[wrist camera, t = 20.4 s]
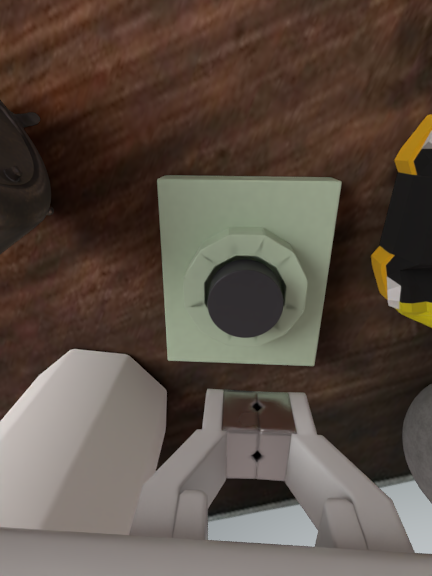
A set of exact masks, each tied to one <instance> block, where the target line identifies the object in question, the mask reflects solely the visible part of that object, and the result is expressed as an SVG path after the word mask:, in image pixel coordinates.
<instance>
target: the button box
mask: <svg viewBox="0 0 432 576" xmlns="http://www.w3.org/2000/svg"><path fill="white" fill-rule="evenodd" d="M341 185H342V182H341V181H339V180H337V179H334V178H331V177H269V176H188V175H165V176H163V177H161V178H159V179H157V187H158V204H159V220H160V237H161V254H162V270H163V287H164V303H165V320H166V337H167V353H168V360H169V361H194V362H220V363H246V364H272V365H299V366H314V365H315V358H316V351H317V345H318V338H319V331H320V325H321V318H322V311H323V305H324V298H325V291H326V285H327V278H328V271H329V265H330V258H331V251H332V245H333V238H334V231H335V225H336V218H337V211H338V205H339V198H340V191H341ZM240 259H250V260H255V261H258V262H261V263H263V264H264V265H266V266H267V267H269V268H270V269H271V270H272V271H273V273H274V274H275V275H276V277H277V279H278V282H279V285H280V288H281V292H282V295H283V301H284V306H283V311H282V315H281V317H280V319H279V320H278V322H277V323H276V324H275V325H274V327H272V328H271V329H270V330H269V331H267V332H266V333H264V334H262V335H259V336H255V337H250V338H241V337H235V336H232V335H229V334H227V333H225V332H223V331H222V330H221V329H219V328H218V327H217V326H216V325H215V324H214V322H213V321H212V319H211V317H210V315H209V312H208V306H207V302H208V295H209V289H210V284H211V281H212V279H213V277H214V275H215V274H216V272H217V271H218V270H219V269H220V268H221V267H223V266H224V265H226V264H227V263H229V262H232V261H235V260H240Z"/></svg>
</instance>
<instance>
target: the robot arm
mask: <svg viewBox="0 0 432 576" xmlns="http://www.w3.org/2000/svg"><path fill="white" fill-rule="evenodd" d="M226 478H244V479H264V480H276V481H285V483H286V485H287V486H288V488H289V489H290V490H291V492H292V493H293V495H294V496H295V498H296V499H297V501H298V502H299V504H300V505H301V506H302V508H303V509H304V511H305V512H306V513H307V515H308V517H309V518H310V519H311V521H312V522H313V524H314V525H315V527H316V528H317V530H318V535H317V539H316V544H315V547H308V546H293V545H277V544H261V543H245V542H230V541H214V540H208V507H209V506H210V504H211V503H212V501H213V500H214V498H215V496H216V495H217V493H218V492H219V490H220V489H221V487H222V485H223V484H224V482H225V481H226ZM0 576H432V554H422V553H415V552H414V550H413V548H412V545H411V543H410V541H409V538H408V536H407V534H406V532H405V529H404V527H403V525H402V522H401V520H400V518H399V515H398V513H397V511H396V508H395V506H394V503H393V501H392V500H391V499H390V498H389V497H388V496H387V495H386V494H385V493H384V492H383V491H382V490H381V489H380V488H379V487H377V486H376V485H375V484H374V483H373V482H372V481H371V480H370V479H369V478H368V477H367V476H366V475H365V474H363V473H362V472H361V471H360V470H359V469H358V468H357V467H356V466H355V465H354V464H353V463H352V462H351V461H349V460H348V459H347V458H346V457H345V456H344V455H343V454H342V453H341V452H340V451H339V450H338V449H337V448H335V447H334V446H333V445H332V444H331V443H330V442H329V441H328V440H327V439H326V438H325V437H324V436H323V435H317V432H316V429H315V425H314V422H313V418H312V414H311V411H310V407H309V404H308V400H307V396H306V394H305V393H293V392H288V393H282V392H255V391H239V390H219V389H207V392H206V400H205V408H204V417H203V425H202V430H201V429H197V430H196V431H195V432H194V433H193V434H192V435H191V436H190V437H189V438H188V439H187V440H186V441H185V442H184V443H183V444H182V445H181V446H180V448H179V449H178V450H177V451H176V452H175V453H174V454H173V455H172V456H171V457H170V458H169V459H168V460H167V461H166V462H165V463H164V464H163V465H162V466H161V467H160V468H159V469H158V470H157V471H156V472H155V473H154V474H153V475H152V476H151V477H150V478H149V479H148V480H147V481H146V482H145V483H144V484H143V485H142V489H141V493H140V496H139V500H138V504H137V507H136V511H135V515H134V518H133V522H132V526H131V529H130V533H129V535H119V534H103V533H87V532H71V531H55V530H39V529H24V528H8V527H0Z"/></svg>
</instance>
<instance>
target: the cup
mask: <svg viewBox="0 0 432 576" xmlns="http://www.w3.org/2000/svg"><path fill="white" fill-rule="evenodd" d="M166 408H167V391H166V389H165V388H164V387H163V386H162V385H161V384H160V383H159V382H157V381H156V380H155V379H154V378H153V377H152V376H151V375H150V374H149V373H148V372H147V371H146V370H144V369H143V368H142V367H141V366H140V365H139V364H138V363H137V362H136V361H135V360H134V359H133V358H132V357H130V356H129V355H127V354H119V353H109V352H100V351H90V350H80V349H72V350H70V351H68V352H67V353H66V354H65V355H63V356H62V357H61V358H60V359H59V360H57V361H56V362H55V363H54V364H52V365H51V366H50V367H49V368H48V369H46V370H45V371H44V372H43V373H41V374H40V375H39V376H38V377H37V378H36V380H35V381H34V382H33V383H32V384H31V386H30V387H29V388H28V389H27V390H26V391H25V393H24V394H23V395H22V396H21V397H20V399H19V400H18V401H17V402H16V403H15V405H14V406H13V407H12V408H11V409H10V410H9V412H8V413H7V414H6V415H5V416H4V418H3V419H2V420H1V421H0V527H8V528H24V529H39V530H55V531H71V532H87V533H103V534H119V535H129V533H130V529H131V526H132V522H133V518H134V515H135V511H136V507H137V504H138V500H139V496H140V493H141V489H142V485H143V484H144V483H145V482H146V481H147V480H148V479H149V478H150V477H151V476H152V475H153V474H154V473H155V472H156V467H157V463H158V459H159V455H160V451H161V447H162V443H163V439H164V434H165V430H166Z"/></svg>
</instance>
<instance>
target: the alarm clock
mask: <svg viewBox="0 0 432 576" xmlns="http://www.w3.org/2000/svg"><path fill="white" fill-rule="evenodd" d="M39 122H40V117H39V116H38V115H37V114H36V113H33V112H31V113H25V114H14V113H13V112H11V111H10V110H8V108H7V107H6V106H5V105H4V104H3V103H2V102H1V100H0V254H1V253H2V252H4V251H5V250H6V249H8V248H9V247H10V246H11V245H13V244H14V243H15V242H17V241H18V240H19V239H20V238H22V237H23V236H24V235H26V234H27V233H28V232H29V231H31V230H32V229H33V228H35V227H36V226H37V225H38V224H39V223H40V222H41V221H43V219H44V218H45V217H46V215H52V214H53V212H54V210H53V207H51V206H50V203H51V187H50V180H49V176H48V173H47V170H46V167H45V165H44V162H43V160H42V158H41V156H40V154H39V152H38V150H37V149H36V147H35V145H34V144H33V142H32V140H31V139H30V137H29V136H28V135H27V133H26V132H25V130H24V128H25V127H28V126H33V125H37V124H38V123H39Z"/></svg>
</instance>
